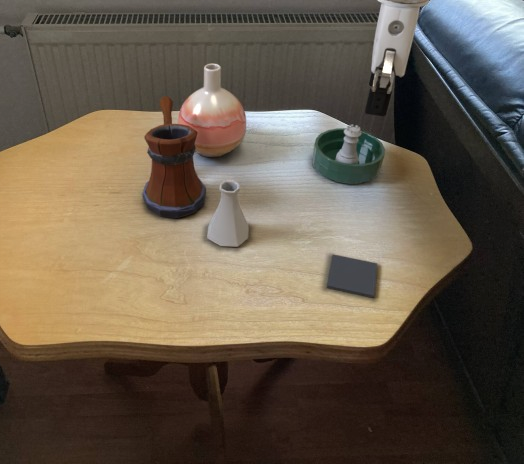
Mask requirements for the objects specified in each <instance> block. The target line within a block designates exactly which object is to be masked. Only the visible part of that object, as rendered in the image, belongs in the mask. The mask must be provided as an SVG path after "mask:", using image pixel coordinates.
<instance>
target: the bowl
mask: <svg viewBox="0 0 524 464" xmlns="http://www.w3.org/2000/svg"><path fill="white" fill-rule="evenodd" d="M346 128H347V127H346ZM346 128H345V127H344V128H343V127H342V128H339V127H338V128H333V129H328V130H325V131H323V132H321V133H320V134H319V135H318V136H316V138H315V141H314V145H313V149H312V157H311V163H312V166H313V168H314V169H315V171H317V172H318V173H319V174H320V175H321V176H323V177H325V178H326V179H329V180H331V181H334V182H338V183H342V184H349V185H350V184H351V185H352V184H362V183H367V182H370V181H371V180H374V179H375V178H377V177H378V176H379V174H380V173H381V171H382V166H383V162H384V158H385V154H386V147H385V146H384V144H383V142H381V140H379V138H377V136H374V135H372V134H370V133H368V132H367V131H362V130H360V131H361V135H360V136H359V137H358V139H359V141H358V142H357V146H356V152H357V155H358V164H347V163H341V162H338V161H335V158H336V155H337V153H338V152H339V151H340V150H341V149H342V147H343V144H344V137H345V136H346V135H345V133H344V130H345V129H346Z"/></svg>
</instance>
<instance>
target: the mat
mask: <svg viewBox="0 0 524 464" xmlns="http://www.w3.org/2000/svg"><path fill="white" fill-rule="evenodd" d="M329 265H330V266H329V271H328V277H327V283H326V288H327V289H329V290H335V291H339V292H343V293H348V294H353V295H357V296H361V297H367V298H371V299H375V294H376V293H375V292H376V285H377V284H376V283H377V282H376V281H377V269H378V263H377V262H373V261H367V260H363V259H357V258H353V257H348V256H343V255H338V254H332V255H331V260H330V264H329Z"/></svg>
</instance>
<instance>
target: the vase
mask: <svg viewBox="0 0 524 464" xmlns="http://www.w3.org/2000/svg"><path fill="white" fill-rule="evenodd" d="M247 123H248V122H247V115H246V111H245V108H244V106H243V104H242V103H241V102H240V100H239V99H238V98H237V96H235V95H234V94H233V93H231V92H230V91H228V90H227V89H225V88H224V87H222V67H221V66H220V65H219V64H218V63H207V64H205V65H204V66H203V87H201V88H199V89H197V90H195V91H194V92H192V93H191V94H190V95H189V96H188V97H187V98H186V100H185V101H183V103H182V105H181V106H180V109H179V112H178V116H177V124H182V125H188V126H190V127H191V128H193V129H194V130H196V131H197V132H198V133H197V138H196V141H195V147H196V150H195V153H196V154H198V155H200V156H202V157H207V158H219V157H222V156H224V155H226V154H227V153H230V152H232V151H234V149H236V148H237V147H238V146H239V145H240V144H241V142H242V141H243V139H244V138H245V136H246V132H247Z"/></svg>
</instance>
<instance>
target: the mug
mask: <svg viewBox="0 0 524 464" xmlns="http://www.w3.org/2000/svg"><path fill="white" fill-rule="evenodd" d="M158 104H159V107H160V109H161V114H162V115H163V124H160V125H158V126H155V127H153V128H150V130H148V131H147V132H146V133H145V135H144V137H143V138H144V141H145V142H146V145H147V146H148V147H147V150H146V151H147V152H146V153H147V155H148V156H149V158H150V159H151V168H150V169H151V171H150V176H149V179H148V181H146V182H145V184H144V187H143V190H142V193H141V194H142V198H143V199H142V200H143V201H144V203H145V206H146V207H147V210H148V211H149V212H151V213H154V214H155V215H158V216H159V217H163V218H172V219H179V218H182V217H183V218H184V217H186V216H189V215H192V214H194V213H195V212H197V211H198V210H200V209H201V208H203V207H204V205H205V199H206V195H207V188H206V185H204V183H203V182H202V180H201V178H199V176H198V174H197V172H196V168H195V164H194V162H195V161H194V155H195V153H196V152H195V150H196V147H195V141H196V138H197V133H198V132H197V131H196V130H194V129H193V128H191V127H190V126H188V125H182V124H178V123H173V117H172V112H173V106H174V101H173V99H172V98H171V97H170V96H169V95H165V96H161V98H160V100H159V101H158Z"/></svg>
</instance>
